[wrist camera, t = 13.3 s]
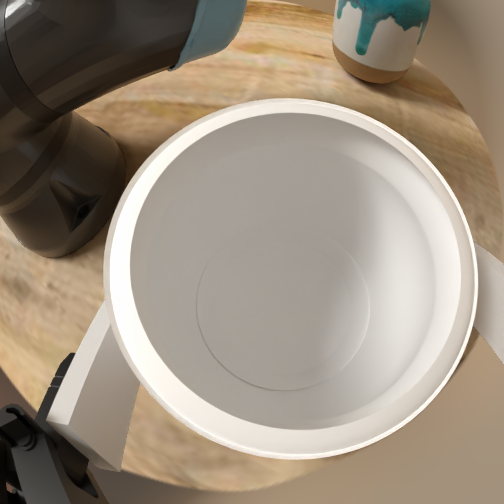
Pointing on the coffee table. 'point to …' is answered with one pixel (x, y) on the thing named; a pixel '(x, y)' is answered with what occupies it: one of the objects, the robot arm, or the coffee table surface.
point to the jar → (290, 278)
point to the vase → (378, 36)
